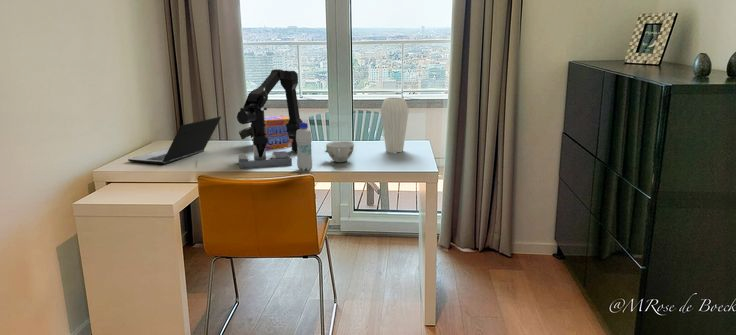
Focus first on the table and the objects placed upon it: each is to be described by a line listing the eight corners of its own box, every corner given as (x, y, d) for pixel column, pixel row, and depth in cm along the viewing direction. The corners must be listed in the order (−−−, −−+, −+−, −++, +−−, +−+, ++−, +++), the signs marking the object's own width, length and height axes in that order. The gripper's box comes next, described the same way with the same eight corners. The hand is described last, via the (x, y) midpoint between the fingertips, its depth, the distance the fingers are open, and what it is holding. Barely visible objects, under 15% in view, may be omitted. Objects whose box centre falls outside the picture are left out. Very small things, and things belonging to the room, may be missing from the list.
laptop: (171, 150, 274) (167, 114, 270) (224, 153, 264) (221, 116, 260) (127, 161, 247) (122, 121, 243) (184, 166, 236) (181, 124, 232)
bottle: (307, 167, 231) (305, 121, 226) (316, 169, 225) (314, 122, 221) (293, 169, 227) (292, 122, 222) (302, 172, 221) (300, 124, 217)
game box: (253, 146, 280) (252, 117, 277) (282, 144, 288) (280, 115, 285) (263, 151, 267) (262, 120, 264) (293, 148, 275) (291, 118, 271)
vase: (399, 149, 270) (400, 96, 264) (413, 153, 258) (413, 98, 253) (376, 151, 264) (375, 97, 259) (388, 156, 253) (388, 100, 247)
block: (265, 158, 241) (264, 142, 239) (266, 160, 237) (265, 144, 235) (253, 159, 239) (252, 143, 238) (254, 161, 235) (253, 145, 234)
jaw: (285, 159, 247) (285, 151, 246) (289, 164, 236) (288, 155, 236) (272, 160, 245) (272, 151, 244) (275, 165, 235) (274, 156, 234)
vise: (289, 158, 248) (289, 150, 247) (294, 165, 235) (293, 156, 234) (238, 162, 242) (238, 153, 241) (240, 168, 229) (239, 159, 228)
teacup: (327, 158, 250) (327, 141, 248) (354, 158, 249) (354, 141, 248) (324, 165, 235) (324, 147, 233) (353, 164, 235) (352, 146, 233)
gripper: (238, 119, 241) (240, 153, 244) (240, 125, 223) (242, 161, 227) (263, 118, 244) (265, 152, 247) (267, 123, 226) (269, 160, 230)
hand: (260, 156), depth 238 cm, fingers closed on block, 4 cm apart
